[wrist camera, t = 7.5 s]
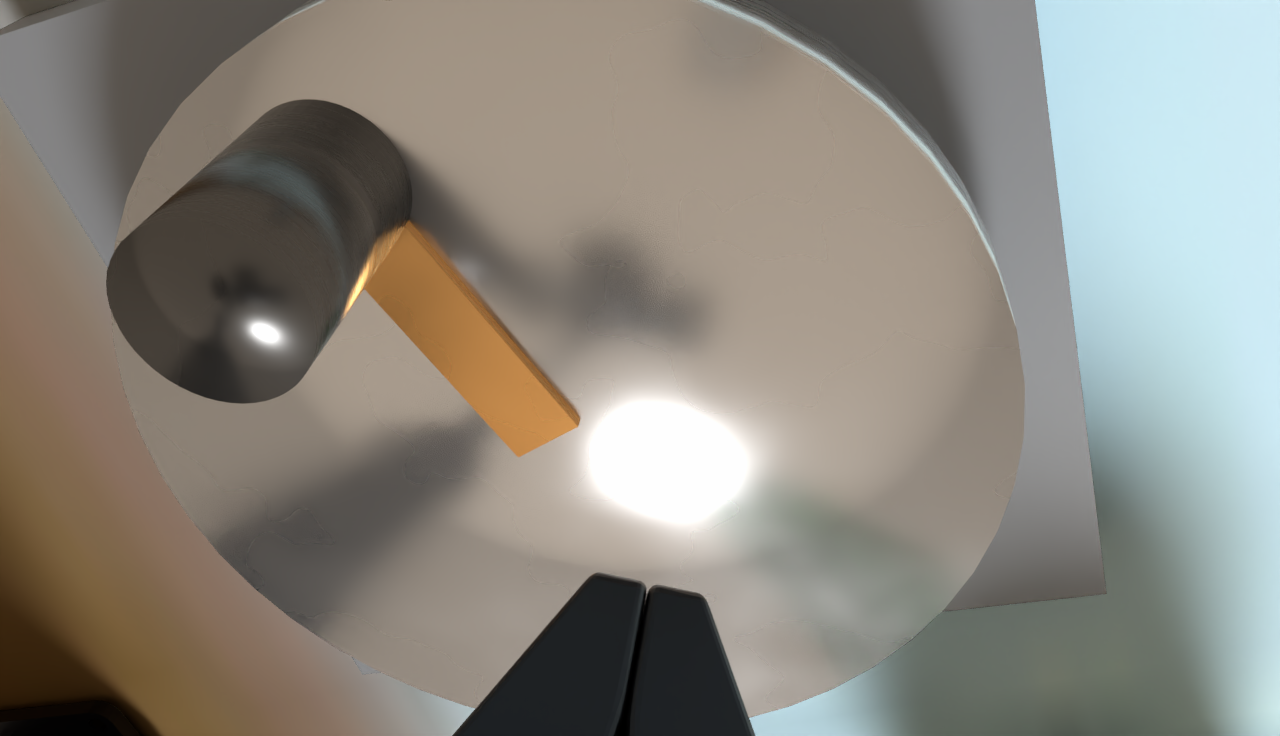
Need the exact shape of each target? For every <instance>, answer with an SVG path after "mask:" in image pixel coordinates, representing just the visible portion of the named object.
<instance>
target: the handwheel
mask: <svg viewBox="0 0 1280 736" xmlns="http://www.w3.org/2000/svg"><path fill="white" fill-rule="evenodd" d="M106 286H107V296H108V301H109V305H110V308H111V313H112V329H113V342H114V347H115V352H116V356H117V361H118V365H119V370H120V375H121V379H122V384H123V388H124V391H125V394H126V397H127V400H128V402H129V405H130V408H131V411H132V413H133V416H134V419H135V422H136V424H137V427H138V430H139V433H140V435H141V437H142V439H143V441H144V443H145V445H146V447H147V449H148V451H149V453H150V454H151V456H152V458H153V460H154V462H155V464H156V466H157V468H158V470H159V472H160V474H161V476H162V478H163V479H164V481H165V482H166V484H167V485H168V487H169V488H170V490H171V491H172V493H173V494H174V496H175V497H176V499H177V500H178V502H179V503H180V505H181V506H182V508H183V509H184V511H185V512H186V514H187V515H188V517H189V518H190V519H191V520H192V522H193V523H194V524H195V525H196V526H197V528H198V529H199V530H200V531H201V532H202V534H203V535H204V536H205V537H206V538H207V539H208V541H209V542H210V543H211V544H212V545H213V547H214V548H215V549H216V550H217V551H218V553H219V554H220V555H221V556H222V557H223V558H224V559H225V560H226V561H227V562H228V563H229V564H230V565H231V566H232V567H233V568H234V569H235V570H236V571H237V572H238V573H239V574H240V575H241V576H242V577H244V578H245V579H246V580H247V581H248V582H249V583H250V584H251V585H252V586H253V587H254V588H255V589H256V590H257V591H258V592H260V593H261V594H262V595H263V596H265V597H266V598H267V599H268V600H270V601H271V602H272V603H273V604H274V605H276V606H277V607H278V608H279V609H281V610H282V611H283V612H284V613H286V614H287V615H288V616H289V617H291V618H292V619H293V620H295V621H296V622H298V623H299V624H301V625H302V626H304V627H305V628H307V629H308V630H309V631H311V632H312V633H314V634H315V635H317V636H318V637H320V638H321V639H323V640H324V641H326V642H327V643H329V644H330V645H332V646H333V647H335V648H337V649H339V650H341V651H342V652H344V653H346V654H348V655H350V656H351V657H353V658H355V659H357V660H359V661H360V662H362V663H364V664H366V665H368V666H370V667H371V668H373V669H375V670H377V671H379V672H382V673H384V674H386V675H388V676H391V677H393V678H395V679H397V680H399V681H402V682H404V683H406V684H408V685H411V686H413V687H415V688H417V689H420V690H422V691H425V692H428V693H431V694H434V695H436V696H439V697H442V698H445V699H448V700H451V701H453V702H456V703H459V704H462V705H465V706H469V707H472V708H477V706H478V705H479V704H480V703H481V702H482V701H483V699H484V698H485V697H486V696H487V695H488V694H489V692H490V691H491V690H492V689H493V688H494V687H495V685H496V684H497V683H498V682H499V681H500V680H501V678H502V677H503V676H504V675H505V674H506V673H507V671H508V670H509V669H510V668H511V667H512V666H513V664H514V663H515V662H516V661H517V660H518V659H519V657H520V656H521V655H522V654H523V653H524V652H525V650H526V649H527V648H528V647H529V646H530V645H531V643H532V642H533V641H534V640H535V639H536V638H537V636H538V635H539V634H540V633H541V632H542V630H543V629H544V628H545V627H546V626H547V625H548V623H549V622H550V621H551V620H552V619H553V618H554V616H555V615H556V614H557V613H558V612H559V611H560V609H561V608H562V607H563V606H564V605H565V604H566V602H567V601H568V600H569V599H570V598H571V597H572V595H573V594H574V593H575V592H576V591H577V590H578V588H579V587H580V586H581V585H582V584H583V583H584V581H585V580H586V579H587V578H588V577H590V576H591V575H592V574H594V573H597V572H601V573H606V574H611V575H616V576H621V577H626V578H630V579H635V580H639V581H642V582H643V583H644V584H645V586H646V588H647V593H648V590H649V589H650V588H651V587H652V586H654V585H664V586H669V587H674V588H678V589H683V590H688V591H693V592H697V593H700V594H701V595H702V596H704V597H705V599H706V600H707V602H708V604H709V607H710V609H711V612H712V615H713V618H714V621H715V624H716V626H717V629H718V632H719V635H720V638H721V640H722V643H723V646H724V649H725V652H726V655H727V657H728V660H729V663H730V666H731V669H732V672H733V674H734V677H735V680H736V683H737V686H738V688H739V691H740V694H741V697H742V700H743V703H744V705H745V708H746V711H747V714H748V717H749V718H750V717H753V716H757V715H760V714H764V713H767V712H771V711H774V710H778V709H782V708H785V707H789V706H792V705H794V704H797V703H799V702H802V701H804V700H807V699H809V698H812V697H814V696H816V695H819V694H821V693H824V692H826V691H829V690H831V689H834V688H836V687H837V686H839V685H841V684H843V683H845V682H847V681H849V680H850V679H852V678H854V677H856V676H858V675H860V674H861V673H863V672H865V671H867V670H869V669H871V668H873V667H874V666H876V665H877V664H878V663H880V662H881V661H883V660H884V659H885V658H887V657H888V656H890V655H891V654H892V653H894V652H895V651H897V650H898V649H899V648H901V647H902V646H904V645H905V644H906V643H908V642H909V641H911V640H912V639H913V638H914V637H915V636H916V635H917V634H918V633H919V632H920V631H921V630H923V629H924V628H925V627H926V626H927V625H928V624H929V623H930V622H931V621H932V620H933V619H934V618H935V617H936V616H937V615H939V614H940V613H941V612H942V611H943V610H944V609H945V608H946V607H947V605H948V604H949V603H950V602H951V600H952V599H953V598H954V597H955V595H956V594H957V593H958V592H959V590H960V589H961V588H962V587H963V585H964V584H965V583H966V582H967V580H968V579H969V578H970V577H971V575H972V574H973V573H974V571H975V569H976V568H977V566H978V564H979V562H980V561H981V559H982V557H983V556H984V554H985V552H986V550H987V549H988V547H989V545H990V543H991V542H992V540H993V538H994V536H995V535H996V533H997V531H998V528H999V526H1000V523H1001V520H1002V518H1003V515H1004V512H1005V510H1006V507H1007V504H1008V502H1009V499H1010V496H1011V494H1012V491H1013V488H1014V485H1015V480H1016V475H1017V470H1018V465H1019V459H1020V454H1021V449H1022V444H1023V439H1024V406H1025V382H1024V375H1023V368H1022V362H1021V355H1020V348H1019V341H1018V334H1017V329H1016V325H1015V321H1014V317H1013V313H1012V309H1011V305H1010V302H1009V298H1008V294H1007V290H1006V286H1005V283H1004V280H1003V277H1002V274H1001V270H1000V267H999V264H998V261H997V258H996V255H995V252H994V249H993V245H992V242H991V239H990V236H989V233H988V231H987V229H986V227H985V225H984V223H983V221H982V219H981V217H980V215H979V213H978V211H977V209H976V207H975V205H974V203H973V201H972V199H971V197H970V195H969V193H968V191H967V189H966V187H965V185H964V183H963V181H962V179H961V178H960V177H959V175H958V174H957V172H956V171H955V169H954V168H953V167H952V165H951V164H950V162H949V161H948V160H947V158H946V157H945V155H944V154H943V153H942V151H941V150H940V148H939V147H938V145H937V144H936V143H935V141H934V140H933V138H932V137H931V136H930V134H929V133H928V131H927V130H926V129H925V127H924V126H923V125H922V124H921V123H920V122H919V121H918V120H917V119H916V118H915V117H914V116H913V115H912V114H911V113H910V112H909V111H908V110H907V109H906V108H905V106H904V105H903V104H902V103H901V102H900V101H899V100H898V99H897V98H896V97H895V96H894V95H893V94H892V93H891V92H890V91H889V90H888V89H887V88H886V87H885V85H884V84H883V83H882V82H881V81H880V80H878V79H877V78H876V77H875V76H873V75H872V74H871V73H870V72H868V71H867V70H866V69H865V68H863V67H862V66H861V65H859V64H858V63H857V62H856V61H854V60H853V59H852V58H851V57H849V56H848V55H847V54H846V53H844V52H843V51H842V50H841V49H839V48H838V47H837V46H835V45H834V44H833V43H832V42H830V41H829V40H828V39H827V38H825V37H823V36H822V35H820V34H818V33H817V32H815V31H813V30H812V29H810V28H808V27H806V26H805V25H803V24H801V23H800V22H798V21H796V20H795V19H793V18H791V17H790V16H788V15H786V14H784V13H783V12H781V11H779V10H778V9H776V8H774V7H773V6H771V5H769V4H768V3H766V2H764V1H761V0H309V1H307V2H306V3H304V4H303V5H302V6H300V7H299V8H297V9H296V10H294V11H293V12H292V13H290V14H289V15H287V16H286V17H284V18H283V19H282V20H280V21H279V22H277V23H276V24H274V25H273V26H272V27H270V28H269V29H267V30H266V31H264V32H263V33H262V34H260V35H259V36H258V37H256V38H255V39H254V40H252V41H251V42H250V43H248V44H247V45H245V46H244V47H243V48H241V49H240V50H239V51H237V52H236V53H235V54H233V55H232V56H231V57H229V58H228V59H227V60H225V61H224V62H223V63H221V64H220V65H219V66H218V67H217V68H216V69H215V70H214V71H213V72H212V73H211V74H210V75H209V76H208V77H207V78H206V79H205V80H204V81H203V82H202V83H201V84H200V85H199V86H198V87H197V88H196V89H195V90H194V91H193V92H192V93H191V94H190V95H189V96H188V97H187V98H186V99H185V100H184V101H183V102H182V103H181V104H180V106H179V107H178V108H177V110H176V111H175V113H174V114H173V116H172V117H171V118H170V120H169V121H168V123H167V124H166V126H165V127H164V128H163V130H162V131H161V133H160V134H159V136H158V137H157V138H156V140H155V141H154V143H153V144H152V146H151V147H150V148H149V151H148V153H147V155H146V157H145V159H144V161H143V163H142V166H141V168H140V170H139V172H138V174H137V176H136V179H135V181H134V183H133V185H132V187H131V189H130V191H129V194H128V196H127V200H126V203H125V207H124V211H123V215H122V219H121V222H120V226H119V230H118V234H117V237H116V241H115V246H114V253H113V255H112V257H111V260H110V263H109V266H108V270H107V280H106ZM646 597H647V595H646Z"/></svg>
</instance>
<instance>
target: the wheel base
mask: <svg viewBox="0 0 1280 736" xmlns="http://www.w3.org/2000/svg"><path fill="white" fill-rule="evenodd" d="M307 1H309V0H76V1H73V2H69V3H66V4H63V5H60V6H57V7H54V8H51V9H48V10H45V11H42V12H39V13H36V14H33V15H30V16H27V17H24V18H22V19H20V20H18V21H16V22H14V23H12V24H10V25H8V26H6V27H4V28H2V29H0V97H1V98H2V100H3V101H4V103H5V105H6V106H7V108H8V109H9V111H10V113H11V114H12V116H13V117H14V119H15V121H16V122H17V124H18V125H19V127H20V129H21V130H22V132H23V133H24V135H25V137H26V138H27V140H28V141H29V143H30V145H31V146H32V148H33V149H34V151H35V153H36V154H37V156H38V157H39V159H40V161H41V162H42V164H43V165H44V167H45V169H46V170H47V172H48V173H49V175H50V176H51V178H52V180H53V181H54V183H55V184H56V186H57V188H58V189H59V191H60V192H61V194H62V196H63V197H64V199H65V200H66V202H67V204H68V205H69V207H70V208H71V210H72V212H73V213H74V215H75V216H76V218H77V220H78V221H79V223H80V224H81V226H82V228H83V229H84V231H85V232H86V234H87V236H88V237H89V239H90V240H91V242H92V244H93V245H94V247H95V248H96V250H97V251H98V253H99V255H100V256H101V258H102V259H103V261H104V263H105V264H106V266H107V267H108V266H109V263H110V260H111V257H112V255H113V253H114V246H115V241H116V237H117V234H118V230H119V226H120V222H121V219H122V215H123V211H124V207H125V203H126V200H127V196H128V194H129V191H130V189H131V187H132V185H133V183H134V181H135V179H136V176H137V174H138V172H139V170H140V168H141V166H142V163H143V161H144V159H145V157H146V155H147V153H148V151H149V148H150V147H151V146H152V144H153V143H154V141H155V140H156V138H157V137H158V136H159V134H160V133H161V131H162V130H163V128H164V127H165V126H166V124H167V123H168V121H169V120H170V118H171V117H172V116H173V114H174V113H175V111H176V110H177V108H178V107H179V106H180V104H181V103H182V102H183V101H184V100H185V99H186V98H187V97H188V96H189V95H190V94H191V93H192V92H193V91H194V90H195V89H196V88H197V87H198V86H199V85H200V84H201V83H202V82H203V81H204V80H205V79H206V78H207V77H208V76H209V75H210V74H211V73H212V72H213V71H214V70H215V69H216V68H217V67H218V66H219V65H220V64H221V63H223V62H224V61H225V60H227V59H228V58H229V57H231V56H232V55H233V54H235V53H236V52H237V51H239V50H240V49H241V48H243V47H244V46H245V45H247V44H248V43H250V42H251V41H252V40H254V39H255V38H256V37H258V36H259V35H260V34H262V33H263V32H264V31H266V30H267V29H269V28H270V27H272V26H273V25H274V24H276V23H277V22H279V21H280V20H282V19H283V18H284V17H286V16H287V15H289V14H290V13H292V12H293V11H294V10H296V9H297V8H299V7H300V6H302V5H303V4H304V3H306V2H307ZM761 1H764V2H766V3H768V4H769V5H771V6H773V7H774V8H776V9H778V10H779V11H781V12H783V13H784V14H786V15H788V16H790V17H791V18H793V19H795V20H796V21H798V22H800V23H801V24H803V25H805V26H806V27H808V28H810V29H812V30H813V31H815V32H817V33H818V34H820V35H822V36H823V37H825V38H827V39H828V40H829V41H830V42H832V43H833V44H834V45H835V46H837V47H838V48H839V49H841V50H842V51H843V52H844V53H846V54H847V55H848V56H849V57H851V58H852V59H853V60H854V61H856V62H857V63H858V64H859V65H861V66H862V67H863V68H865V69H866V70H867V71H868V72H870V73H871V74H872V75H873V76H875V77H876V78H877V79H878V80H880V81H881V82H882V83H883V84H884V85H885V87H886V88H887V89H888V90H889V91H890V92H891V93H892V94H893V95H894V96H895V97H896V98H897V99H898V100H899V101H900V102H901V103H902V104H903V105H904V106H905V108H906V109H907V110H908V111H909V112H910V113H911V114H912V115H913V116H914V117H915V118H916V119H917V120H918V121H919V122H920V123H921V124H922V125H923V126H924V127H925V129H926V130H927V131H928V133H929V134H930V136H931V137H932V138H933V140H934V141H935V143H936V144H937V145H938V147H939V148H940V150H941V151H942V153H943V154H944V155H945V157H946V158H947V160H948V161H949V162H950V164H951V165H952V167H953V168H954V169H955V171H956V172H957V174H958V175H959V177H960V178H961V179H962V181H963V183H964V185H965V187H966V189H967V191H968V193H969V195H970V197H971V199H972V201H973V203H974V205H975V207H976V209H977V211H978V213H979V215H980V217H981V219H982V221H983V223H984V225H985V227H986V229H987V231H988V233H989V236H990V239H991V242H992V245H993V249H994V252H995V255H996V258H997V261H998V264H999V267H1000V270H1001V274H1002V277H1003V280H1004V283H1005V286H1006V290H1007V294H1008V298H1009V302H1010V305H1011V309H1012V313H1013V317H1014V321H1015V325H1016V329H1017V334H1018V341H1019V348H1020V355H1021V362H1022V368H1023V375H1024V382H1025V406H1024V439H1023V444H1022V449H1021V454H1020V459H1019V465H1018V470H1017V475H1016V480H1015V485H1014V488H1013V491H1012V494H1011V496H1010V499H1009V502H1008V504H1007V507H1006V510H1005V512H1004V515H1003V518H1002V520H1001V523H1000V526H999V528H998V531H997V533H996V535H995V536H994V538H993V540H992V542H991V543H990V545H989V547H988V549H987V550H986V552H985V554H984V556H983V557H982V559H981V561H980V562H979V564H978V566H977V568H976V569H975V571H974V573H973V574H972V575H971V577H970V578H969V579H968V580H967V582H966V583H965V584H964V585H963V587H962V588H961V589H960V590H959V592H958V593H957V594H956V595H955V597H954V598H953V599H952V600H951V602H950V603H949V604H948V605H947V607H946V608H945V609H944V610H943V611H942V612H944V611H953V610H962V609H972V608H981V607H990V606H999V605H1009V604H1018V603H1027V602H1036V601H1045V600H1055V599H1064V598H1073V597H1082V596H1092V595H1101V594H1107V593H1106V585H1105V577H1104V568H1103V560H1102V552H1101V544H1100V535H1099V527H1098V519H1097V510H1096V502H1095V494H1094V486H1093V477H1092V469H1091V461H1090V453H1089V444H1088V436H1087V428H1086V419H1085V411H1084V403H1083V395H1082V386H1081V378H1080V370H1079V362H1078V353H1077V345H1076V337H1075V329H1074V320H1073V312H1072V304H1071V295H1070V287H1069V279H1068V271H1067V262H1066V254H1065V246H1064V238H1063V229H1062V221H1061V213H1060V204H1059V196H1058V188H1057V180H1056V171H1055V163H1054V155H1053V147H1052V138H1051V130H1050V122H1049V113H1048V105H1047V97H1046V89H1045V80H1044V72H1043V64H1042V56H1041V47H1040V39H1039V31H1038V23H1037V14H1036V6H1035V0H761ZM352 658H353V657H352ZM353 660H354V662H355V663H356V665H357V666H358V668H359V670H360V671H361V673H362V674H372V673H381V672H379V671H377V670H375V669H373V668H371V667H370V666H368V665H366V664H364V663H362V662H360V661H359V660H357V659H355V658H353Z"/></svg>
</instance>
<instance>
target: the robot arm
mask: <svg viewBox="0 0 1280 736" xmlns="http://www.w3.org/2000/svg"><path fill="white" fill-rule="evenodd" d="M646 595H647V597H646ZM0 736H140V734H139V733H138V732H137V731H136V730H135V728H134V727H133V726H132V725H131V723H130V722H129V721H128V720H127V718H126V717H125V716H124V715H123V713H122V712H121V711H120V710H119V709H118V708H117V707H115V706H113V705H112V704H110V703H107V702H104V701H89V702H80V703H71V704H62V705H53V706H44V707H34V708H25V709H16V710H7V711H0ZM453 736H755V734H754V731H753V728H752V725H751V722H750V720H749V717H748V714H747V711H746V708H745V705H744V703H743V700H742V697H741V694H740V691H739V688H738V686H737V683H736V680H735V677H734V674H733V672H732V669H731V666H730V663H729V660H728V657H727V655H726V652H725V649H724V646H723V643H722V640H721V638H720V635H719V632H718V629H717V626H716V624H715V621H714V618H713V615H712V612H711V609H710V607H709V604H708V602H707V600H706V599H705V597H704V596H702V595H701V594H700V593H697V592H693V591H688V590H683V589H678V588H674V587H669V586H664V585H654V586H652V587H651V588H650V589H649V590H648V593H647V588H646V586H645V584H644V583H643V582H642V581H639V580H635V579H630V578H626V577H621V576H616V575H611V574H606V573H601V572H597V573H594V574H592V575H591V576H590V577H588V578H587V579H586V580H585V581H584V583H583V584H582V585H581V586H580V587H579V588H578V590H577V591H576V592H575V593H574V594H573V595H572V597H571V598H570V599H569V600H568V601H567V602H566V604H565V605H564V606H563V607H562V608H561V609H560V611H559V612H558V613H557V614H556V615H555V616H554V618H553V619H552V620H551V621H550V622H549V623H548V625H547V626H546V627H545V628H544V629H543V630H542V632H541V633H540V634H539V635H538V636H537V638H536V639H535V640H534V641H533V642H532V643H531V645H530V646H529V647H528V648H527V649H526V650H525V652H524V653H523V654H522V655H521V656H520V657H519V659H518V660H517V661H516V662H515V663H514V664H513V666H512V667H511V668H510V669H509V670H508V671H507V673H506V674H505V675H504V676H503V677H502V678H501V680H500V681H499V682H498V683H497V684H496V685H495V687H494V688H493V689H492V690H491V691H490V692H489V694H488V695H487V696H486V697H485V698H484V699H483V701H482V702H481V703H480V704H479V705H478V706H477V708H476V709H475V710H474V711H473V712H472V713H471V715H470V716H469V717H468V718H467V719H466V720H465V722H464V723H463V724H462V725H461V726H460V727H459V729H458V730H457V731H456V732H455V733H454V734H453Z"/></svg>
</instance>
